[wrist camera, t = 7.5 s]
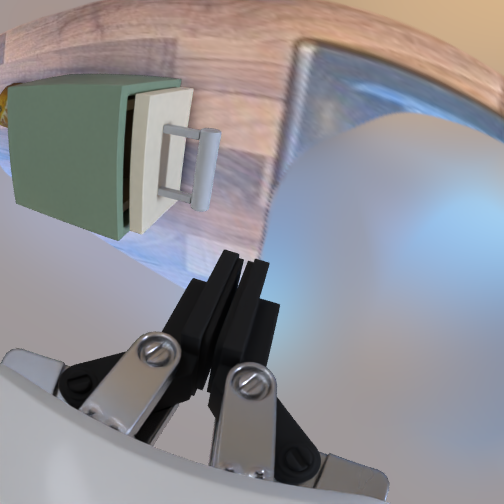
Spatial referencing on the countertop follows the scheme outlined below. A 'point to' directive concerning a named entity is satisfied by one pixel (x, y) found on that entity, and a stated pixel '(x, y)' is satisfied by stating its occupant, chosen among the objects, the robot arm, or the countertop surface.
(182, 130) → the drawer
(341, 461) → the robot arm
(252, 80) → the countertop surface
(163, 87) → the cabinet
